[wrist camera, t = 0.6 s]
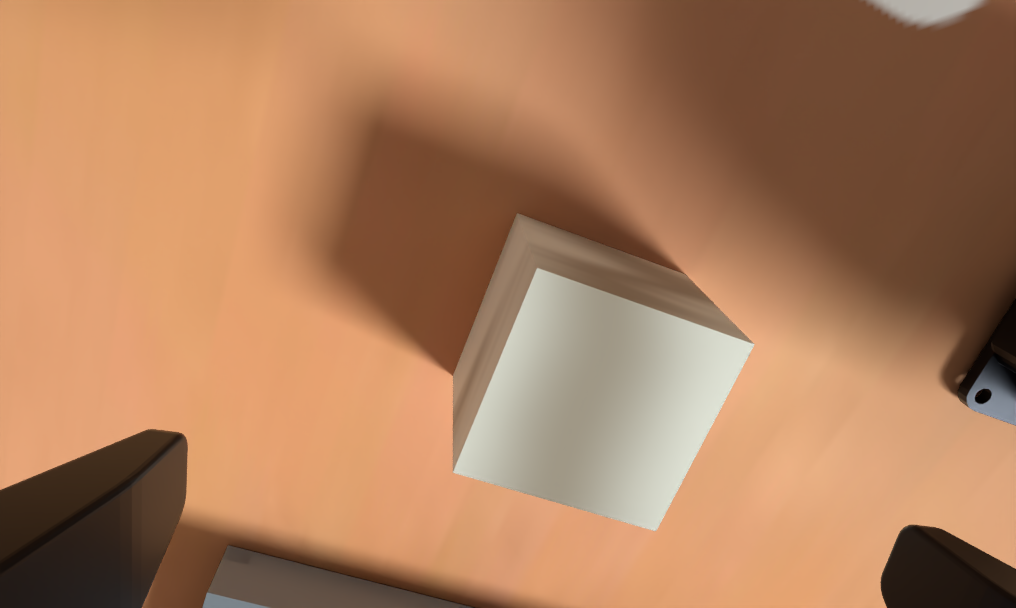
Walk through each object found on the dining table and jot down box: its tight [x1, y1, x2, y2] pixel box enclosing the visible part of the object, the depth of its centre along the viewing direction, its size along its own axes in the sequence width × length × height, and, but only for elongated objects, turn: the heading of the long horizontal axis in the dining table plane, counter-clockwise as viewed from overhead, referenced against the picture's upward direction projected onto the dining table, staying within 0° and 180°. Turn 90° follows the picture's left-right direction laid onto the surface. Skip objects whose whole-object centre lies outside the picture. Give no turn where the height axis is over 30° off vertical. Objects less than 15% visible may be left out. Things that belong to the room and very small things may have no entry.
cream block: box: [453, 213, 754, 531], centre depth 18 cm, size 5×5×5 cm
